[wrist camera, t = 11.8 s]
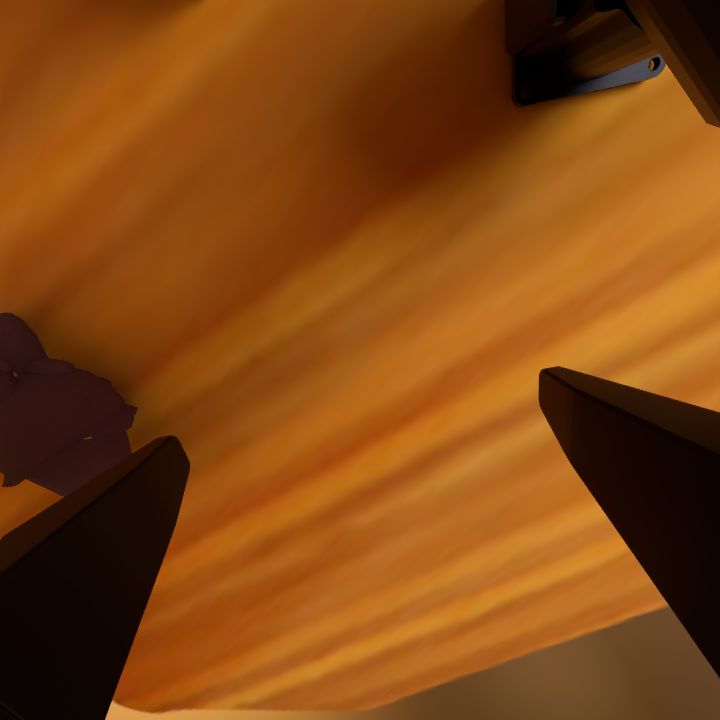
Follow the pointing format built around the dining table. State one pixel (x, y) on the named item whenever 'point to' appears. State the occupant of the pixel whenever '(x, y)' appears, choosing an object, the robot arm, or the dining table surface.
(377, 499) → the dining table surface
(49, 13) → the dining table surface
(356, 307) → the dining table surface
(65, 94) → the dining table surface
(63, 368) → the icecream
